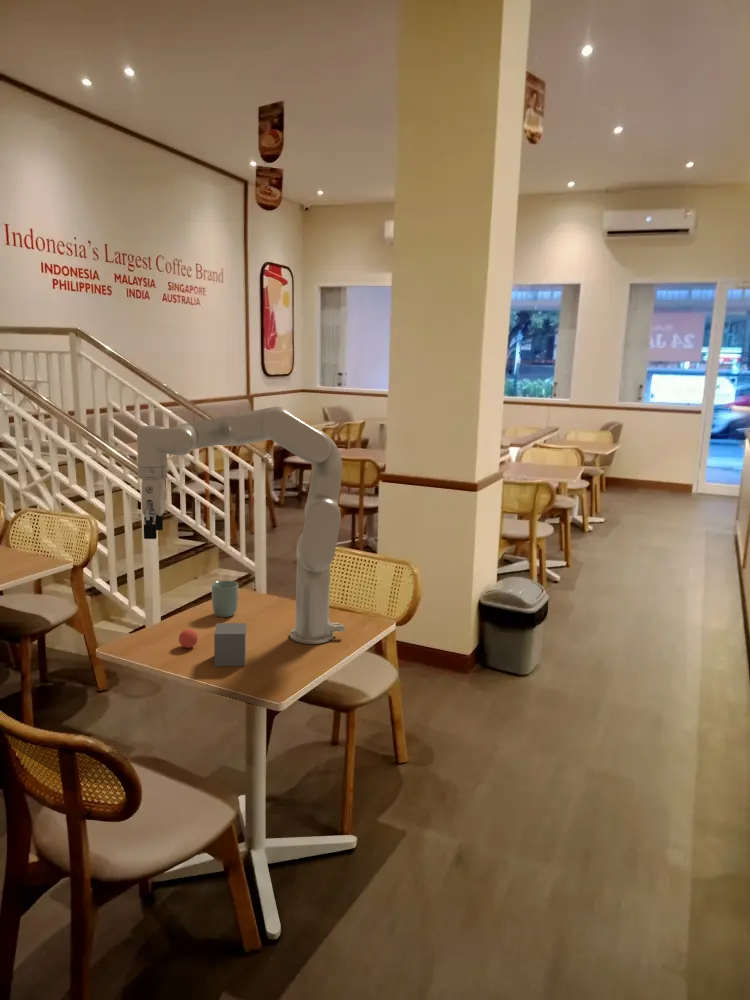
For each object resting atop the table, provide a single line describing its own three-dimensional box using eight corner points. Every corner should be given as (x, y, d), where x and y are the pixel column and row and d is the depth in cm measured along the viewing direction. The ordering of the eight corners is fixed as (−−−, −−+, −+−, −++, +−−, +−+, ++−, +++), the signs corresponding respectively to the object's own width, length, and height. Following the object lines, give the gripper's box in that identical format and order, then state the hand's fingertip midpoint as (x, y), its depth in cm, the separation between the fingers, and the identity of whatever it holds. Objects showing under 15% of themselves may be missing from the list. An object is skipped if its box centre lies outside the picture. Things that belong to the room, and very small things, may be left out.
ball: (198, 643, 197) (198, 626, 197) (196, 650, 193) (196, 633, 192) (180, 643, 197) (180, 626, 196) (177, 650, 192) (177, 633, 191)
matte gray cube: (246, 654, 192) (246, 623, 190) (244, 665, 184) (244, 633, 183) (217, 654, 191) (217, 623, 189) (214, 666, 183) (214, 634, 182)
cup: (207, 617, 218) (207, 586, 216) (220, 609, 225) (220, 579, 223) (230, 621, 215) (230, 589, 213) (242, 612, 223) (242, 582, 221)
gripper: (161, 477, 182) (162, 542, 186) (172, 467, 199) (172, 527, 202) (131, 477, 181) (132, 542, 185) (144, 467, 198) (145, 526, 202)
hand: (153, 534), depth 194 cm, fingers open, 9 cm apart
